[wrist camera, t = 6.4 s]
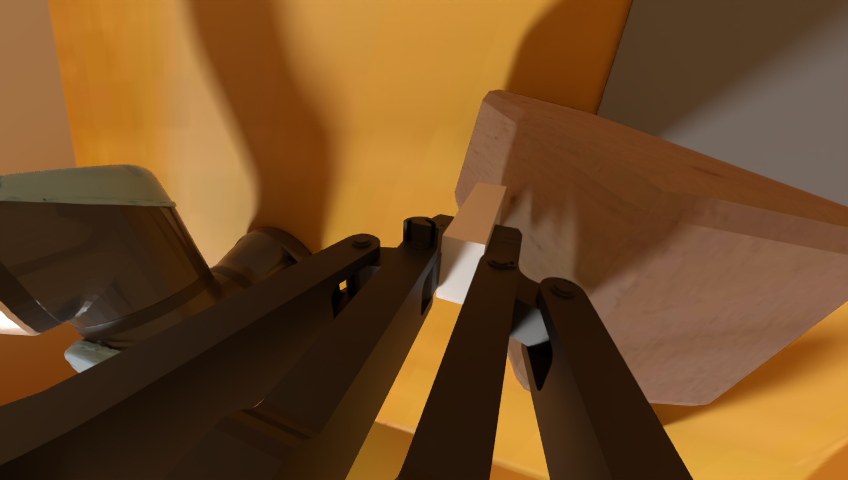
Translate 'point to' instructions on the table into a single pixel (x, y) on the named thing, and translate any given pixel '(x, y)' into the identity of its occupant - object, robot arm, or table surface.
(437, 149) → the table surface
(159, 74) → the table surface
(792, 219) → the wooden block
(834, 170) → the mat
